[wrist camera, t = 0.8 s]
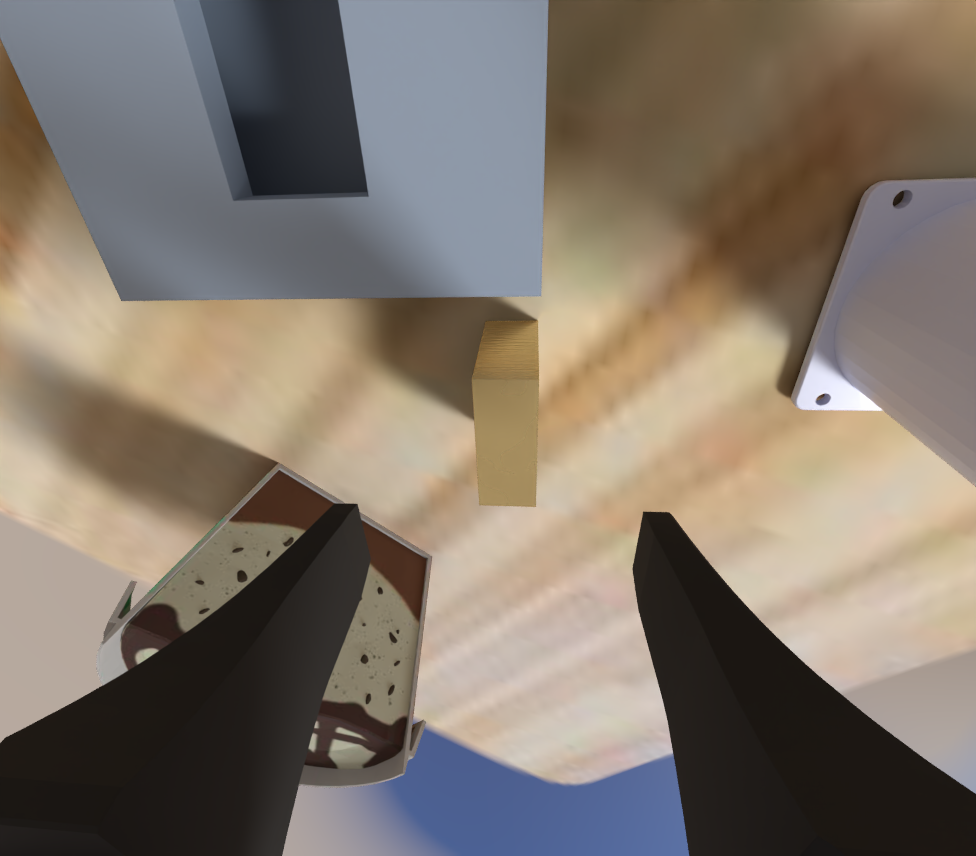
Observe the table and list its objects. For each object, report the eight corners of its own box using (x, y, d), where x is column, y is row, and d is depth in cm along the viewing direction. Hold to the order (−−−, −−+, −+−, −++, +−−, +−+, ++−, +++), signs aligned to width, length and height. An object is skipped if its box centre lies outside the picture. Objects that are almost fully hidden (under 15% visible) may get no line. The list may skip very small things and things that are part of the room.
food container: (204, 514, 25) (41, 706, 17) (250, 445, 23) (82, 635, 14) (393, 617, 29) (336, 818, 21) (453, 569, 26) (416, 779, 18)
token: (537, 320, 18) (539, 379, 14) (535, 429, 21) (535, 506, 17) (486, 320, 18) (471, 379, 14) (490, 428, 21) (479, 505, 17)
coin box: (551, -325, 10) (564, -635, 6) (539, 252, 17) (541, 296, 13) (46, -260, 11) (-244, -488, 7) (218, 259, 18) (121, 300, 14)
